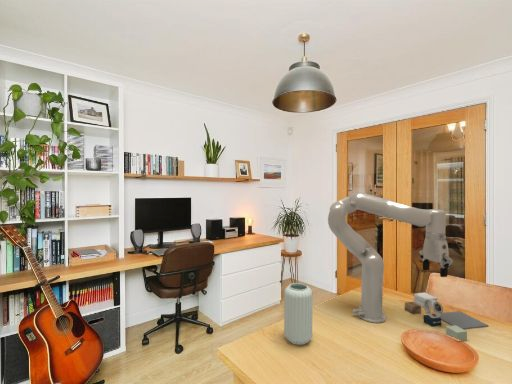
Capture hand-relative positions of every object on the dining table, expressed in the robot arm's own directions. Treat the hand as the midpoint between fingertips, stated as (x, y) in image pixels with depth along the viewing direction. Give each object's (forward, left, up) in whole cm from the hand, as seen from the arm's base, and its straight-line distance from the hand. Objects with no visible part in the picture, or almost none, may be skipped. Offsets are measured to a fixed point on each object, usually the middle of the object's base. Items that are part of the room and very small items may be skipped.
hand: (434, 273), depth 124 cm
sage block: (0, -12, -24) cm, 27 cm away
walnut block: (0, +13, -24) cm, 27 cm away
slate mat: (+15, 0, -24) cm, 28 cm away
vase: (-66, -1, -24) cm, 70 cm away
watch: (0, 0, -24) cm, 24 cm away
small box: (+13, +18, -24) cm, 33 cm away
